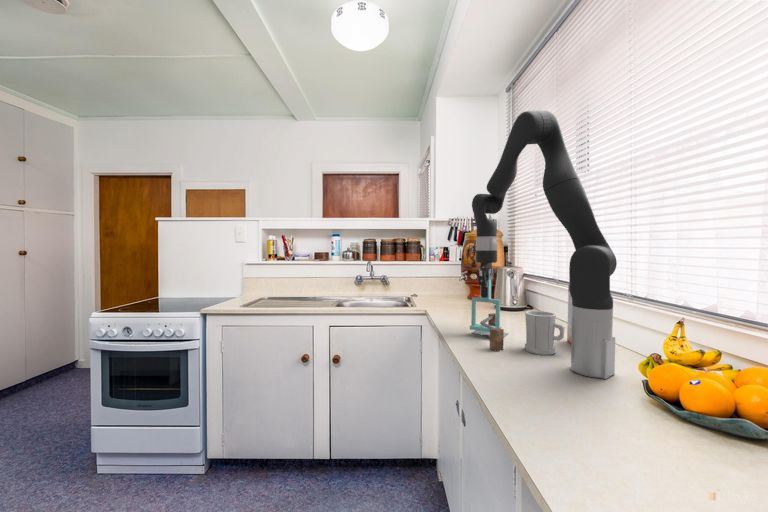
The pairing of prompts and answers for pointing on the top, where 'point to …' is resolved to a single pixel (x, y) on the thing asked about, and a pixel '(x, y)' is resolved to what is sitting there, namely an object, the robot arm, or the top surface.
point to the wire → (486, 321)
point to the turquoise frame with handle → (489, 300)
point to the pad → (486, 333)
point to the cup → (541, 332)
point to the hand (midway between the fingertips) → (485, 296)
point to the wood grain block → (495, 335)
